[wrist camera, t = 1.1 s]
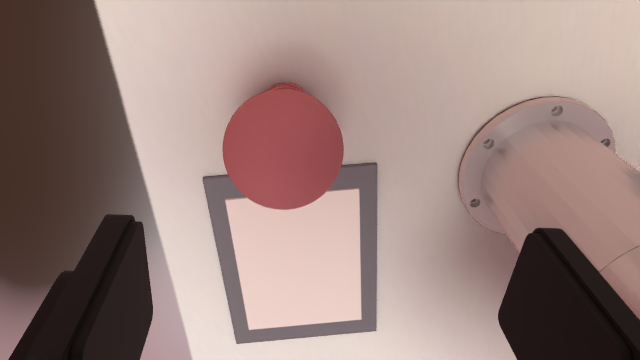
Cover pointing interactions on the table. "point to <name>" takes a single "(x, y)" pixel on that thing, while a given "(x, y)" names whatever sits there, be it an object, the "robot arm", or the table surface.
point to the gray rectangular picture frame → (299, 259)
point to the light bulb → (283, 148)
